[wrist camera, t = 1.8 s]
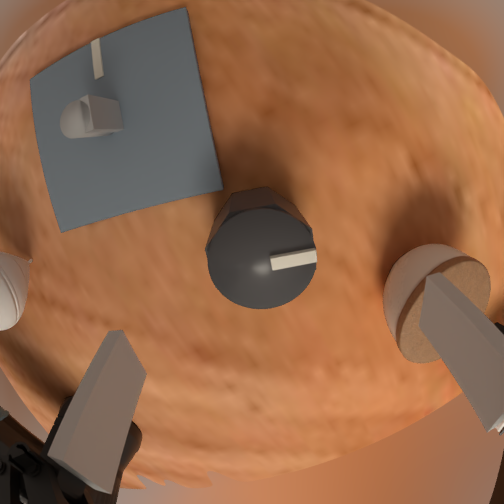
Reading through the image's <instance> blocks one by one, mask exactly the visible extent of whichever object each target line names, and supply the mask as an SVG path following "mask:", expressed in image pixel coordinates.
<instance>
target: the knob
mask: <svg viewBox="0 0 504 504" xmlns="http://www.w3.org/2000/svg"><path fill="white" fill-rule="evenodd" d="M205 251H206V255H207V259H208V269H209V274H210V276H211V279H212V281H213V283H214V285H215V287H216V288H217V289H218V290H219V291H220V292H221V293H222V294H223V295H224V296H225V297H226V298H227V299H229V300H230V301H232V302H234V303H236V304H238V305H241V306H244V307H247V308H253V309H268V308H274V307H278V306H281V305H284V304H286V303H288V302H290V301H291V300H293V299H294V298H296V297H297V296H298V295H300V294H301V293H302V292H303V291H304V290H305V288H306V287H307V286H308V284H309V283H310V281H311V279H312V277H313V275H314V272H315V270H316V262H317V253H316V247H315V244H314V241H313V233H312V228H311V227H310V225H309V224H308V223H307V221H306V220H305V219H304V217H303V216H302V214H301V213H300V212H299V210H298V209H297V208H296V206H295V205H293V204H292V203H290V202H289V201H288V200H286V199H285V198H283V197H282V196H280V195H279V194H277V193H276V192H275V191H273V190H272V189H270V188H269V187H262V188H257V189H252V190H246V191H241V192H236V193H232V195H231V196H230V198H229V199H228V201H227V202H226V204H225V205H224V207H223V208H222V210H221V211H220V213H219V214H218V216H217V217H216V219H215V220H214V223H213V226H212V229H211V232H210V235H209V238H208V241H207V244H206V247H205Z"/></svg>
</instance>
